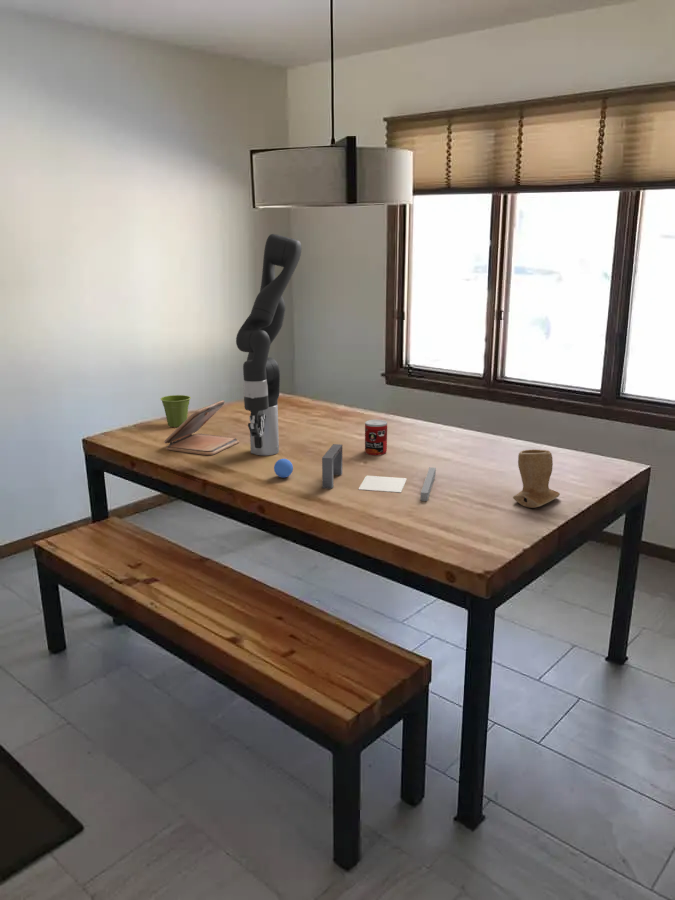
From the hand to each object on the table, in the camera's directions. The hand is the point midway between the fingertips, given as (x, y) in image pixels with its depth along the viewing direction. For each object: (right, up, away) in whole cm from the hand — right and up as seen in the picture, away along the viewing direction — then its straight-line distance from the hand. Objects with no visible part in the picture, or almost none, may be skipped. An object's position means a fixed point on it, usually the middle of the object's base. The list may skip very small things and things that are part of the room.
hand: (258, 447), depth 240 cm
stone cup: (+82, -16, -20) cm, 86 cm away
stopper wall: (+53, -12, -9) cm, 55 cm away
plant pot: (-39, +9, +63) cm, 75 cm away
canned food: (+39, -2, +27) cm, 47 cm away
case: (-24, 0, +35) cm, 43 cm away
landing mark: (+39, -11, -6) cm, 41 cm away
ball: (+8, -7, 0) cm, 10 cm away
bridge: (+23, -10, -2) cm, 26 cm away
